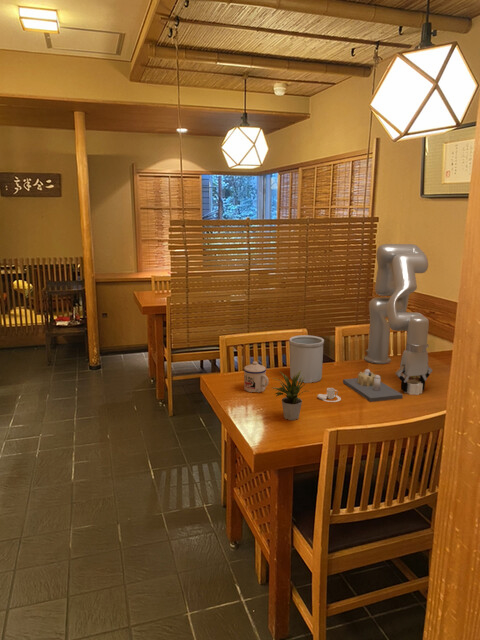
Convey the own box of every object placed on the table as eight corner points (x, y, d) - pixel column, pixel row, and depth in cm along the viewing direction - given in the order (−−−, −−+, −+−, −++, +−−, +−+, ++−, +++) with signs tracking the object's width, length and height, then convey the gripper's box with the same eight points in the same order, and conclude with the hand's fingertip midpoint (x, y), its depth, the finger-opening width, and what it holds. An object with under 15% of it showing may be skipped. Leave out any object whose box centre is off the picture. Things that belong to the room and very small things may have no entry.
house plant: (278, 405, 170) (279, 363, 167) (314, 411, 165) (316, 368, 162) (265, 420, 157) (266, 375, 154) (304, 427, 152) (306, 380, 149)
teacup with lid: (238, 388, 187) (239, 361, 185) (254, 383, 193) (255, 357, 191) (259, 397, 178) (259, 368, 176) (275, 391, 184) (276, 363, 182)
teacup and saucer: (316, 401, 176) (316, 391, 175) (320, 394, 183) (320, 384, 182) (339, 404, 172) (339, 394, 172) (342, 397, 180) (343, 387, 179)
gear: (399, 389, 187) (399, 380, 186) (414, 387, 189) (415, 378, 188) (409, 395, 180) (410, 386, 179) (425, 394, 182) (426, 384, 181)
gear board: (342, 382, 195) (343, 365, 193) (372, 379, 198) (373, 362, 197) (370, 401, 174) (371, 382, 172) (402, 398, 177) (404, 379, 176)
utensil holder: (299, 385, 191) (301, 345, 187) (282, 375, 204) (283, 337, 201) (329, 380, 197) (331, 341, 193) (310, 370, 210) (311, 333, 207)
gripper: (428, 343, 186) (425, 384, 190) (391, 346, 182) (388, 388, 185) (441, 348, 179) (437, 391, 183) (402, 351, 175) (399, 395, 178)
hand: (412, 389), depth 184 cm, fingers closed on gear, 7 cm apart
